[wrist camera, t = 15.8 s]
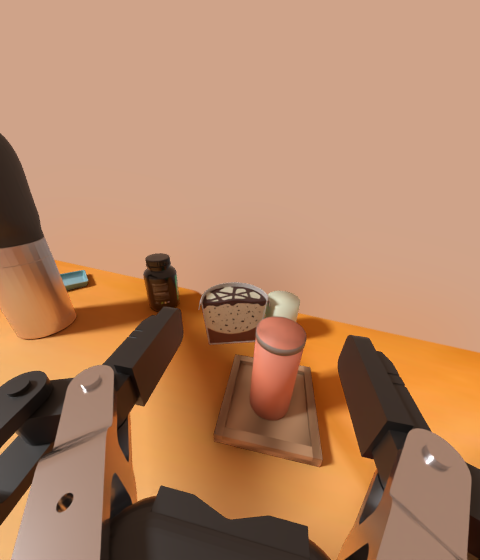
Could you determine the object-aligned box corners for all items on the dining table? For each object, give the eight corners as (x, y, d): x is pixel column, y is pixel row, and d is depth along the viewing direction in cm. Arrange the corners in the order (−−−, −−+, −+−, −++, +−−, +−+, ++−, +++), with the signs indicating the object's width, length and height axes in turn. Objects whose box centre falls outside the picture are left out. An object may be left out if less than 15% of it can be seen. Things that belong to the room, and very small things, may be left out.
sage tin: (262, 340, 39) (265, 305, 36) (264, 321, 45) (268, 289, 41) (294, 345, 39) (301, 310, 35) (292, 325, 44) (298, 292, 40)
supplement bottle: (185, 300, 51) (180, 254, 45) (166, 315, 45) (157, 265, 40) (164, 293, 53) (157, 249, 48) (143, 307, 48) (132, 259, 42)
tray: (214, 441, 24) (213, 433, 24) (235, 361, 35) (235, 354, 34) (319, 467, 22) (322, 459, 22) (308, 374, 33) (310, 367, 32)
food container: (259, 320, 45) (263, 280, 40) (266, 341, 39) (271, 296, 35) (202, 323, 43) (199, 281, 39) (201, 345, 38) (197, 299, 33)
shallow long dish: (86, 275, 62) (84, 268, 61) (90, 287, 56) (88, 279, 55) (-51, 304, 47) (-58, 295, 46) (-66, 325, 41) (-74, 315, 40)
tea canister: (245, 415, 26) (252, 344, 21) (252, 378, 31) (259, 313, 26) (289, 425, 25) (308, 354, 20) (289, 386, 30) (304, 320, 25)
